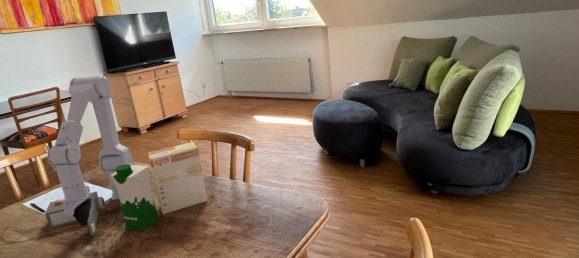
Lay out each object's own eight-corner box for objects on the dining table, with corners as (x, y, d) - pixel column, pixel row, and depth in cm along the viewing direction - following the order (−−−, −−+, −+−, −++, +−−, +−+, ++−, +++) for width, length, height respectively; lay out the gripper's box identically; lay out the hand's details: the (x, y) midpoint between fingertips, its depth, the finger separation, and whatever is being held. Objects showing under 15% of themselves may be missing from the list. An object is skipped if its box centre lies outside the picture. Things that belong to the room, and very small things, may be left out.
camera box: (106, 204, 128) (102, 187, 126) (105, 214, 120) (100, 197, 118) (55, 216, 122) (49, 200, 120) (50, 229, 115) (44, 211, 113)
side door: (95, 216, 119) (91, 202, 118) (99, 215, 120) (95, 201, 118) (91, 236, 108) (86, 222, 106) (96, 235, 108) (91, 220, 107)
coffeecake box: (203, 193, 129) (193, 141, 123) (208, 201, 123) (198, 147, 117) (159, 205, 123) (147, 151, 117) (162, 215, 117) (149, 158, 111)
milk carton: (121, 230, 111) (104, 169, 104) (141, 214, 119) (127, 157, 112) (145, 233, 108) (129, 171, 101) (164, 216, 116) (150, 158, 109)
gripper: (67, 175, 113) (79, 214, 117) (47, 197, 100) (61, 240, 104) (91, 172, 114) (102, 210, 118) (74, 193, 101) (87, 235, 105)
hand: (85, 224), depth 111 cm, fingers closed
